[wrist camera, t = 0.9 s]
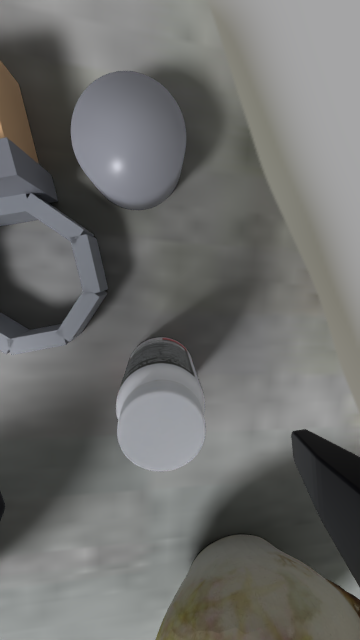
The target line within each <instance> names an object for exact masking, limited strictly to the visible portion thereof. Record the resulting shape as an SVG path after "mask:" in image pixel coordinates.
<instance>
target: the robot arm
mask: <svg viewBox="0 0 360 640" xmlns="http://www.w3.org/2000/svg"><path fill="white" fill-rule="evenodd" d="M291 438H292V449H293V457H294V461H295V464H296V466H297V468H298V470H299V473H300V475H301V477H302V479H303V482H304V484H305V486H306V488H307V490H308V493H309V495H310V497H311V499H312V502H313V504H314V506H315V508H316V510H317V512H318V515H319V517H320V518H321V520H322V522H323V524H324V526H325V528H326V529H327V531H328V533H329V535H330V536H331V538H332V540H333V542H334V543H335V545H336V547H337V549H338V550H339V552H340V554H341V556H342V557H343V559H344V561H345V563H346V564H347V566H348V568H349V570H350V571H351V573H352V575H353V577H354V578H355V580H356V582H357V583H358V585H359V587H360V457H359V456H357V455H355V454H353V453H351V452H349V451H347V450H345V449H343V448H341V447H339V446H337V445H335V444H333V443H332V442H330V441H328V440H326V439H324V438H322V437H320V436H318V435H316V434H314V433H312V432H310V431H308V430H306V429H303V430H297V431H293V432H292V434H291ZM4 509H5V503H4V500H3V497H2V494H1V491H0V520H1V518H2V515H3V513H4Z"/></svg>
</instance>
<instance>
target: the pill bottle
mask: <svg viewBox="0 0 360 640" xmlns="http://www.w3.org/2000/svg"><path fill="white" fill-rule="evenodd" d="M204 412H205V398H204V393H203V390H202V387H201V384H200V382H199V379H198V376H197V373H196V370H195V367H194V364H193V360H192V358H191V356H190V354H189V352H188V350H187V349H186V348H185V347H184V346H183V345H182V344H181V343H179V342H178V341H176V340H173V339H171V338H166V337H157V338H152V339H149V340H147V341H145V342H143V343H141V344H140V345H139V346H138V347H137V348H136V349H135V350H134V351H133V353H132V355H131V357H130V359H129V362H128V365H127V368H126V371H125V374H124V377H123V380H122V383H121V386H120V389H119V391H118V395H117V400H116V414H117V418H118V426H117V437H118V442H119V445H120V448H121V449H122V451H123V453H124V454H125V456H126V457H127V458H128V459H129V460H130V461H131V462H133V463H134V464H135V465H137V466H139V467H141V468H144V469H147V470H150V471H159V472H163V471H170V470H174V469H177V468H180V467H182V466H184V465H185V464H187V463H188V462H190V461H191V460H192V459H193V458H194V457H195V456H196V455H197V454H198V452H199V451H200V449H201V447H202V445H203V443H204V440H205V434H206V425H205V419H204Z"/></svg>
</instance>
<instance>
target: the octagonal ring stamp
mask: <svg viewBox="0 0 360 640" xmlns="http://www.w3.org/2000/svg"><path fill="white" fill-rule="evenodd" d="M57 201H58V199H57V195H56V191H55V187H54V183H53V179H52V175H51V174H50V173H49V172H48V171H46V170H45V169H44V168H43V167H42V166H40V165H39V162H38V158H37V154H36V150H35V146H34V142H33V138H32V134H31V130H30V126H29V122H28V118H27V114H26V110H25V107H24V103H23V99H22V95H21V91H20V87H19V84H18V83H17V81H16V80H15V79H14V77H13V76H12V75H11V74H10V72H9V71H8V70H7V68H6V67H5V66H4V65H3V63H2V62H1V61H0V226H5V225H11V224H17V223H22V222H28V221H34V220H40V221H41V222H43V223H44V224H46V225H47V226H48V227H50V228H51V229H53V230H54V231H56V232H57V233H59V234H60V235H62V236H63V237H65V238H66V239H68V240H69V241H71V244H72V248H73V253H74V257H75V261H76V265H77V269H78V273H79V277H80V281H81V285H82V289H83V292H82V293H81V295H80V296H79V298H78V299H77V301H76V303H75V304H74V306H73V307H72V309H71V310H70V312H69V313H68V315H67V317H66V318H65V320H64V321H63V323H62V324H59V325H53V326H48V327H42V328H37V329H32V330H29V329H27V328H26V327H24V326H22V325H21V324H19V323H17V322H16V321H14V320H12V319H11V318H9V317H7V316H6V315H4V314H3V313H1V312H0V351H1V352H3V353H5V354H7V353H9V352H10V353H11V355H14V354H19V353H25V352H30V351H35V350H41V349H46V348H51V347H57V346H62V345H66V344H68V343H69V342H71V341H72V340H73V339H75V338H76V337H77V336H78V335H80V334H81V333H82V331H83V330H84V328H85V327H86V325H87V324H88V322H89V321H90V319H91V318H92V316H93V315H94V313H95V312H96V310H97V309H98V307H99V306H100V304H101V302H102V301H103V299H104V298H105V296H106V295H107V293H106V292H105V291H104V290H107V289H108V286H107V281H106V277H105V272H104V268H103V264H102V259H101V255H100V250H99V246H98V242H97V239H96V238H94V237H93V236H94V234H92V233H91V232H90V231H88V230H87V229H85V228H84V227H82V226H81V225H79V224H78V223H77V222H75V221H74V220H72V219H71V218H69V217H68V216H66V215H65V214H64V213H62V212H61V211H59V210H58V209H56V208H55V207H54V206H52V205H51V204H49V203H51V202H57Z"/></svg>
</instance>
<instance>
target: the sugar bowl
mask: <svg viewBox="0 0 360 640" xmlns="http://www.w3.org/2000/svg"><path fill="white" fill-rule="evenodd" d="M156 640H360V600H359V599H358V598H356V597H355V596H354V595H352V594H350V593H348V592H346V591H345V590H344V589H342V588H341V587H340V586H338V585H337V584H335V583H333V582H331V581H329V580H327V579H325V578H324V577H322V576H321V575H320V574H318V573H317V572H316V571H314V570H313V569H312V568H310V567H309V566H307V565H306V564H304V563H303V562H301V561H299V560H298V559H296V558H294V557H292V556H290V555H288V554H286V553H284V552H282V551H280V550H279V549H277V548H275V547H274V546H273V545H271V544H270V543H269V542H267V541H266V540H265V539H263V538H260V537H258V536H253V535H232V536H227V537H225V538H222V539H220V540H218V541H216V542H214V543H212V544H210V545H209V546H207V547H206V548H205V549H203V550H202V551H201V552H200V553H199V555H198V556H197V557H196V559H195V560H194V562H193V563H192V566H191V568H190V570H189V573H188V575H187V576H186V578H185V579H184V581H183V583H182V584H181V586H180V588H179V590H178V592H177V593H176V595H175V597H174V599H173V601H172V603H171V604H170V606H169V608H168V610H167V613H166V615H165V617H164V619H163V622H162V624H161V627H160V629H159V632H158V634H157V637H156Z"/></svg>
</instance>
